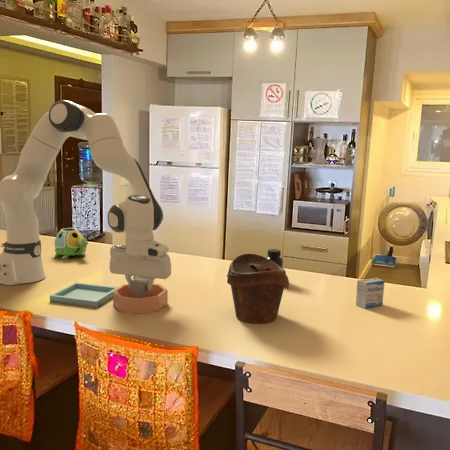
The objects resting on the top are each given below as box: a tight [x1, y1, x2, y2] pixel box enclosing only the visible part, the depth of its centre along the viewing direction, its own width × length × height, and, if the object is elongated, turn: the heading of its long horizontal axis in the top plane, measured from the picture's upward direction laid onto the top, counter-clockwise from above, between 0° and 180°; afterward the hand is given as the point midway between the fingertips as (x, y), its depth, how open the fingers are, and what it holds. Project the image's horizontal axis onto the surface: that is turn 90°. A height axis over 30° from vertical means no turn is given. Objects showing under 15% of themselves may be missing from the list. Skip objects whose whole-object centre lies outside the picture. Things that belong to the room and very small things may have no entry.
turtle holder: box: [54, 227, 89, 260], centre depth 216 cm, size 12×18×12 cm
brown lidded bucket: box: [226, 253, 290, 325], centre depth 150 cm, size 18×20×18 cm
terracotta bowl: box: [112, 282, 169, 315], centre depth 160 cm, size 16×16×5 cm
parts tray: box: [49, 282, 119, 308], centre depth 166 cm, size 17×15×2 cm
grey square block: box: [131, 278, 150, 298], centre depth 159 cm, size 4×4×5 cm
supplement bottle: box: [265, 248, 284, 269], centre depth 187 cm, size 7×7×12 cm
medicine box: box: [355, 277, 385, 310], centre depth 163 cm, size 8×4×9 cm, turn 118°
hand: (140, 289), depth 160 cm, fingers closed on grey square block, 4 cm apart
